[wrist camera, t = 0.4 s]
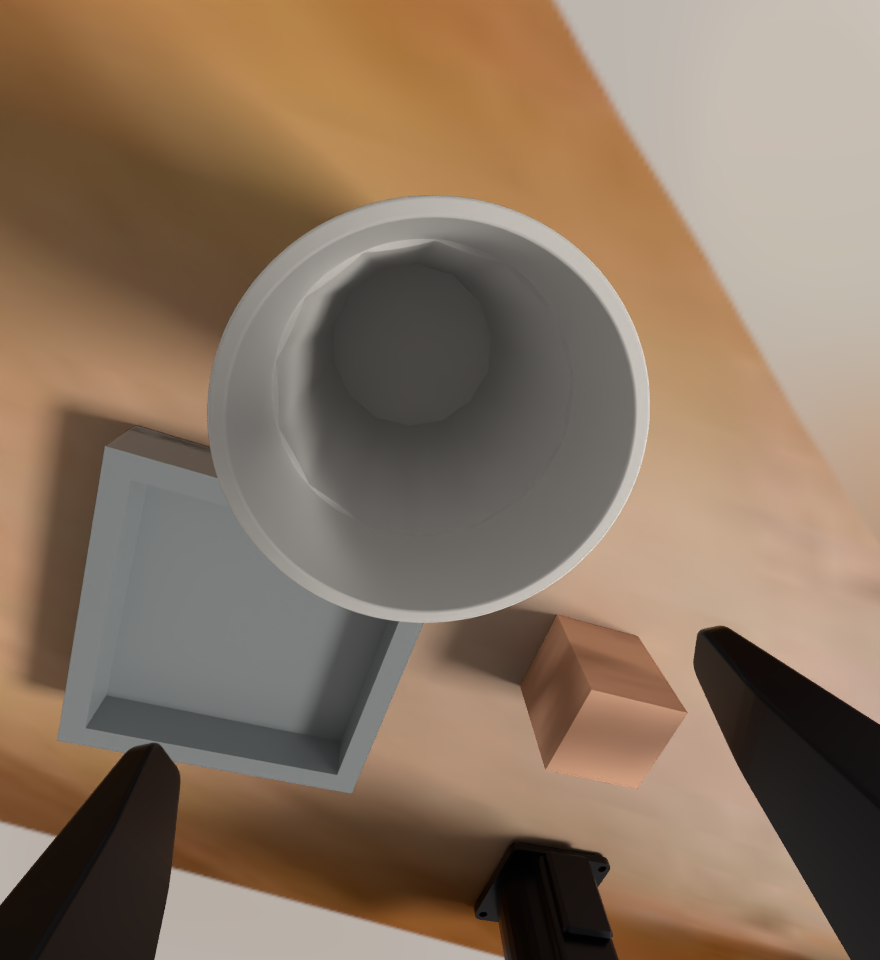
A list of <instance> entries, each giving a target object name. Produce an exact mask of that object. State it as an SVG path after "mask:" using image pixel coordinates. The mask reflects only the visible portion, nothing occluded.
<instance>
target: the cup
mask: <svg viewBox="0 0 880 960" xmlns="http://www.w3.org/2000/svg"><path fill="white" fill-rule="evenodd" d="M649 418H650V392H649V381H648V373H647V368H646V362H645V358H644V354H643V350H642V347H641V343H640V340H639V337H638V335H637V332H636V329H635V327H634V324H633V322H632V320H631V318H630V316H629V314H628V311H627V310H626V308H625V306H624V304H623V302H622V301H621V299H620V297H619V296H618V294H617V293H616V291H615V289H614V288H613V287H612V285H611V284H610V283H609V281H608V280H607V278H606V277H605V276H604V275H603V274H602V272H601V271H600V270H599V269H598V268H597V267H596V266H595V265H594V263H593V262H592V261H591V260H590V259H589V258H588V257H587V256H586V255H585V254H583V253H582V252H581V251H580V250H579V249H578V248H577V247H576V246H574V245H573V244H572V243H571V242H569V241H568V240H567V239H566V238H564V237H563V236H561V235H560V234H558V233H557V232H555V231H554V230H552V229H551V228H549V227H547V226H546V225H544V224H542V223H540V222H539V221H537V220H535V219H533V218H531V217H529V216H527V215H524V214H522V213H520V212H517V211H515V210H512V209H509V208H507V207H504V206H500V205H497V204H494V203H490V202H486V201H481V200H477V199H472V198H465V197H457V196H444V195H421V196H408V197H400V198H394V199H389V200H384V201H379V202H376V203H372V204H368V205H365V206H362V207H359V208H356V209H353V210H350V211H348V212H345V213H343V214H341V215H338V216H336V217H334V218H332V219H330V220H328V221H326V222H324V223H322V224H321V225H319V226H317V227H315V228H314V229H312V230H310V231H309V232H307V233H306V234H304V235H303V236H301V237H300V238H299V239H297V240H296V241H294V242H293V243H292V244H291V245H289V246H288V247H287V248H286V249H284V250H283V251H282V252H281V253H280V254H279V255H278V256H277V257H275V258H274V259H273V260H272V261H271V262H270V264H269V265H268V266H267V267H266V268H265V269H264V270H263V271H262V272H261V273H260V274H259V276H258V277H257V278H256V279H255V280H254V281H253V283H252V284H251V286H250V287H249V288H248V290H247V291H246V292H245V294H244V295H243V297H242V298H241V300H240V302H239V303H238V305H237V306H236V308H235V310H234V312H233V314H232V316H231V317H230V319H229V322H228V324H227V326H226V328H225V330H224V333H223V335H222V338H221V340H220V343H219V346H218V349H217V352H216V355H215V359H214V363H213V367H212V372H211V377H210V383H209V391H208V404H207V422H208V436H209V443H210V449H211V455H212V459H213V463H214V467H215V471H216V474H217V477H218V480H219V483H220V486H221V488H222V491H223V493H224V495H225V498H226V500H227V502H228V504H229V506H230V508H231V510H232V512H233V514H234V515H235V517H236V519H237V520H238V522H239V524H240V525H241V527H242V528H243V530H244V531H245V533H246V534H247V535H248V537H249V538H250V539H251V541H252V542H253V543H254V544H255V545H256V547H257V548H258V549H259V550H260V551H261V552H262V553H263V554H264V556H265V557H266V558H267V559H268V560H269V561H270V562H271V563H272V564H274V565H275V566H276V567H277V568H278V569H279V570H280V571H281V572H283V573H284V574H285V575H286V576H288V577H289V578H290V579H292V580H293V581H294V582H296V583H297V584H299V585H300V586H302V587H303V588H305V589H306V590H308V591H310V592H311V593H313V594H315V595H317V596H319V597H320V598H322V599H324V600H326V601H329V602H331V603H333V604H335V605H338V606H340V607H342V608H345V609H348V610H351V611H354V612H357V613H360V614H364V615H367V616H371V617H376V618H380V619H386V620H392V621H400V622H414V623H436V622H449V621H456V620H463V619H468V618H473V617H478V616H482V615H485V614H489V613H492V612H495V611H498V610H501V609H504V608H507V607H509V606H512V605H514V604H516V603H519V602H521V601H523V600H525V599H527V598H529V597H531V596H533V595H535V594H537V593H538V592H540V591H542V590H543V589H545V588H547V587H548V586H550V585H551V584H553V583H554V582H556V581H557V580H559V579H560V578H561V577H563V576H564V575H565V574H567V573H568V572H569V571H570V570H571V569H573V568H574V567H575V566H576V565H577V564H578V563H579V562H581V561H582V560H583V559H584V558H585V557H586V556H587V555H588V554H589V553H590V552H591V551H592V550H593V549H594V547H595V546H596V545H597V544H598V543H599V542H600V540H601V539H602V538H603V537H604V535H605V534H606V533H607V532H608V530H609V529H610V527H611V526H612V524H613V523H614V522H615V520H616V518H617V517H618V515H619V514H620V512H621V510H622V508H623V507H624V505H625V503H626V501H627V499H628V497H629V495H630V493H631V491H632V488H633V486H634V483H635V481H636V478H637V476H638V473H639V470H640V467H641V463H642V460H643V456H644V452H645V447H646V442H647V436H648V429H649Z"/></svg>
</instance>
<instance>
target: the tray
mask: <svg viewBox="0 0 880 960" xmlns="http://www.w3.org/2000/svg"><path fill="white" fill-rule="evenodd" d="M422 626H423V623H414V622H400V621H392V620H386V619H380V618H376V617H371V616H367V615H364V614H360V613H357V612H354V611H351V610H348V609H345V608H342V607H340V606H338V605H335V604H333V603H331V602H329V601H326V600H324V599H322V598H320V597H319V596H317V595H315V594H313V593H311V592H310V591H308V590H306V589H305V588H303V587H302V586H300V585H299V584H297V583H296V582H294V581H293V580H292V579H290V578H289V577H288V576H286V575H285V574H284V573H283V572H281V571H280V570H279V569H278V568H277V567H276V566H275V565H274V564H272V563H271V562H270V561H269V560H268V559H267V558H266V557H265V556H264V554H263V553H262V552H261V551H260V550H259V549H258V548H257V547H256V545H255V544H254V543H253V542H252V541H251V539H250V538H249V537H248V535H247V534H246V533H245V531H244V530H243V528H242V527H241V525H240V524H239V522H238V520H237V519H236V517H235V515H234V514H233V512H232V510H231V508H230V506H229V504H228V502H227V500H226V498H225V495H224V493H223V491H222V488H221V486H220V483H219V480H218V477H217V474H216V471H215V467H214V463H213V459H212V455H211V449H210V447H208V446H204V445H201V444H198V443H194V442H191V441H187V440H184V439H181V438H177V437H174V436H171V435H167V434H164V433H160V432H157V431H154V430H150V429H147V428H144V427H140V426H137V425H135V426H134V427H132V428H131V429H129V430H128V431H126V432H125V433H123V434H122V435H120V436H119V437H117V438H116V439H115V440H113V441H112V442H110V443H109V444H107V445H106V446H105V449H104V455H103V461H102V467H101V473H100V480H99V486H98V492H97V498H96V504H95V511H94V517H93V523H92V529H91V535H90V541H89V548H88V554H87V560H86V566H85V572H84V579H83V585H82V591H81V597H80V603H79V609H78V616H77V622H76V628H75V634H74V640H73V647H72V653H71V659H70V665H69V671H68V678H67V684H66V690H65V696H64V702H63V708H62V715H61V721H60V727H59V733H58V739H57V741H62V742H67V743H73V744H78V745H84V746H89V747H95V748H101V749H106V750H112V751H117V752H123V753H126V752H127V751H128V750H129V749H130V748H132V747H135V746H138V745H143V744H148V743H153V742H156V743H158V744H160V745H161V746H162V747H163V749H164V750H165V751H166V753H167V754H168V755H169V757H170V758H171V760H172V761H173V762H178V763H184V764H189V765H195V766H200V767H206V768H212V769H217V770H223V771H228V772H234V773H239V774H245V775H250V776H256V777H262V778H267V779H273V780H278V781H284V782H289V783H295V784H300V785H306V786H311V787H317V788H323V789H328V790H334V791H339V792H345V793H350V794H352V792H353V789H354V787H355V785H356V782H357V780H358V778H359V775H360V773H361V770H362V768H363V766H364V763H365V761H366V759H367V756H368V754H369V751H370V749H371V747H372V744H373V742H374V740H375V737H376V735H377V732H378V730H379V728H380V725H381V723H382V721H383V718H384V716H385V714H386V711H387V709H388V706H389V704H390V702H391V699H392V697H393V695H394V692H395V690H396V687H397V685H398V683H399V680H400V678H401V676H402V673H403V671H404V668H405V666H406V664H407V661H408V659H409V657H410V654H411V652H412V649H413V647H414V645H415V642H416V640H417V638H418V635H419V633H420V630H421V628H422Z"/></svg>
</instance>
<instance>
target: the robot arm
mask: <svg viewBox="0 0 880 960" xmlns="http://www.w3.org/2000/svg"><path fill="white" fill-rule="evenodd" d="M693 663H694V670H695V673H696V676H697V678H698V680H699V683H700V685H701V687H702V689H703V691H704V693H705V696H706V698H707V700H708V702H709V704H710V707H711V709H712V711H713V713H714V715H715V718H716V720H717V722H718V724H719V726H720V729H721V731H722V733H723V735H724V737H725V740H726V742H727V744H728V746H729V748H730V750H731V752H732V755H733V757H734V759H735V761H736V763H737V765H738V767H739V768H740V770H741V772H742V774H743V776H744V778H745V779H746V781H747V783H748V785H749V786H750V788H751V790H752V791H753V793H754V795H755V796H756V798H757V800H758V802H759V803H760V805H761V807H762V808H763V810H764V812H765V814H766V815H767V817H768V819H769V820H770V822H771V824H772V826H773V827H774V829H775V831H776V832H777V834H778V836H779V838H780V839H781V841H782V843H783V844H784V846H785V848H786V850H787V851H788V853H789V855H790V856H791V858H792V860H793V862H794V863H795V865H796V867H797V868H798V870H799V872H800V874H801V875H802V877H803V879H804V880H805V882H806V884H807V885H808V887H809V889H810V891H811V892H812V894H813V896H814V897H815V899H816V901H817V903H818V904H819V906H820V908H821V909H822V911H823V913H824V915H825V916H826V918H827V920H828V921H829V923H830V925H831V927H832V928H833V930H834V932H835V933H836V935H837V937H838V939H839V940H840V942H841V944H842V945H843V947H844V949H845V951H846V952H847V954H848V956H849V957H850V959H851V960H880V724H878V723H876V722H875V721H873V720H872V719H870V718H869V717H867V716H866V715H864V714H862V713H861V712H859V711H858V710H856V709H855V708H853V707H851V706H850V705H848V704H847V703H845V702H844V701H842V700H841V699H839V698H837V697H836V696H834V695H833V694H831V693H830V692H828V691H826V690H825V689H823V688H822V687H820V686H819V685H817V684H816V683H814V682H812V681H811V680H809V679H808V678H806V677H805V676H803V675H801V674H800V673H798V672H797V671H795V670H794V669H792V668H791V667H789V666H787V665H786V664H784V663H783V662H781V661H780V660H778V659H777V658H775V657H773V656H772V655H770V654H769V653H767V652H766V651H764V650H762V649H761V648H759V647H758V646H756V645H755V644H753V643H752V642H750V641H748V640H747V639H745V638H744V637H742V636H741V635H739V634H737V633H736V632H734V631H733V630H731V629H730V628H728V627H725V626H715V627H710V628H705V629H702V630H700V631H699V632H698V634H697V640H696V647H695V653H694V661H693ZM179 792H180V773H179V770H178V768H177V766H176V765H175V764H174V762H173V761H172V760H171V758H170V757H169V755H168V754H167V753H166V751H165V750H164V749H163V747H162V746H161V745H160V744H158V743H156V742H153V743H148V744H143V745H138V746H135V747H132V748H130V749H129V750H128V751H127V752H126V753H125V754H124V755H123V756H122V758H121V759H120V760H119V761H118V762H117V764H116V765H115V766H114V767H113V768H112V770H111V771H110V772H109V773H108V775H107V776H106V777H105V778H104V779H103V781H102V782H101V783H100V784H99V786H98V787H97V788H96V789H95V790H94V792H93V793H92V794H91V795H90V797H89V798H88V799H87V800H86V801H85V803H84V804H83V805H82V806H81V807H80V809H79V810H78V811H77V812H76V814H75V815H74V816H73V817H72V818H71V820H70V821H69V822H68V823H67V825H66V826H65V827H64V828H63V829H62V831H61V832H60V833H59V834H58V835H57V837H56V838H55V839H54V840H53V842H52V843H51V844H50V845H49V847H48V848H47V849H46V850H45V851H44V853H43V854H42V855H41V856H40V857H39V859H38V860H37V861H36V862H35V863H34V865H33V866H32V867H31V868H30V870H29V871H28V872H27V873H26V875H25V876H24V877H23V878H22V879H21V881H20V882H19V883H18V884H17V886H16V887H15V888H14V889H13V890H12V892H11V893H10V894H9V895H8V896H7V898H6V899H5V900H4V901H3V902H2V904H1V905H0V960H154V958H155V953H156V949H157V944H158V939H159V934H160V929H161V924H162V919H163V915H164V910H165V905H166V900H167V894H168V889H169V882H170V874H171V867H172V858H173V848H174V839H175V830H176V820H177V811H178V801H179ZM609 870H610V865H609V862H608V860H607V858H605V857H601V856H595V855H589V854H583V853H578V852H572V851H566V850H560V849H554V848H549V847H543V846H537V845H531V844H525V843H514V844H512V845H511V846H510V847H509V848H508V850H507V852H506V853H505V855H504V857H503V859H502V860H501V862H500V864H499V865H498V867H497V869H496V871H495V872H494V874H493V876H492V877H491V879H490V881H489V883H488V884H487V886H486V888H485V889H484V891H483V893H482V895H481V896H480V898H479V900H478V901H477V903H476V905H475V907H474V911H475V917H476V918H477V919H480V920H487V921H494V922H499V927H500V933H501V939H502V945H503V952H504V958H505V960H619V959H618V956H617V953H616V950H615V947H614V944H613V941H612V937H613V933H612V930H611V927H610V924H609V921H608V918H607V915H606V911H605V908H604V905H603V902H602V899H601V896H600V893H599V890H598V886H599V885H600V883H601V882H602V880H603V879H604V878H605V876H606V875H607V873H608V872H609Z"/></svg>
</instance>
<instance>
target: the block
mask: <svg viewBox="0 0 880 960" xmlns="http://www.w3.org/2000/svg"><path fill="white" fill-rule="evenodd" d="M520 687H521V690H522V693H523V697H524V700H525V703H526V707H527V710H528V713H529V717H530V720H531V723H532V727H533V730H534V733H535V737H536V740H537V743H538V747H539V750H540V753H541V757H542V760H543V763H544V767H545V770H548V771H553V772H558V773H563V774H568V775H572V776H577V777H582V778H587V779H592V780H597V781H602V782H606V783H611V784H616V785H621V786H626V787H631V788H636V789H638V787H639V786H640V784H641V782H642V781H643V779H644V778H645V776H646V775H647V773H648V772H649V770H650V769H651V767H652V766H653V764H654V763H655V761H656V760H657V758H658V757H659V755H660V754H661V752H662V751H663V749H664V748H665V746H666V745H667V743H668V742H669V740H670V739H671V737H672V736H673V734H674V733H675V731H676V730H677V728H678V727H679V725H680V724H681V722H682V721H683V719H684V718H685V716H686V715H687V711H686V710H685V708H684V707H683V705H682V704H681V702H680V700H679V699H678V697H677V696H676V694H675V693H674V691H673V690H672V688H671V687H670V685H669V683H668V682H667V680H666V679H665V677H664V676H663V674H662V673H661V671H660V670H659V668H658V666H657V665H656V663H655V662H654V660H653V659H652V657H651V656H650V654H649V653H648V651H647V649H646V648H645V646H644V645H643V643H642V642H641V640H640V639H639V637H638V636H634V635H630V634H627V633H623V632H619V631H616V630H612V629H608V628H604V627H601V626H597V625H593V624H590V623H586V622H582V621H578V620H575V619H571V618H567V617H564V616H560V615H557V616H556V618H555V620H554V622H553V624H552V626H551V628H550V629H549V631H548V633H547V635H546V637H545V639H544V641H543V643H542V645H541V647H540V649H539V651H538V653H537V655H536V656H535V658H534V660H533V662H532V664H531V666H530V668H529V670H528V672H527V674H526V676H525V678H524V680H523V682H522V683H521V685H520Z"/></svg>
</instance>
